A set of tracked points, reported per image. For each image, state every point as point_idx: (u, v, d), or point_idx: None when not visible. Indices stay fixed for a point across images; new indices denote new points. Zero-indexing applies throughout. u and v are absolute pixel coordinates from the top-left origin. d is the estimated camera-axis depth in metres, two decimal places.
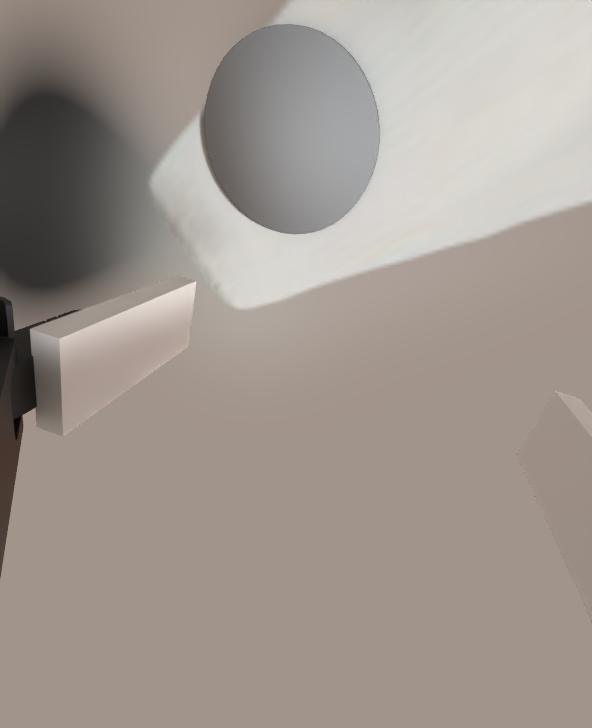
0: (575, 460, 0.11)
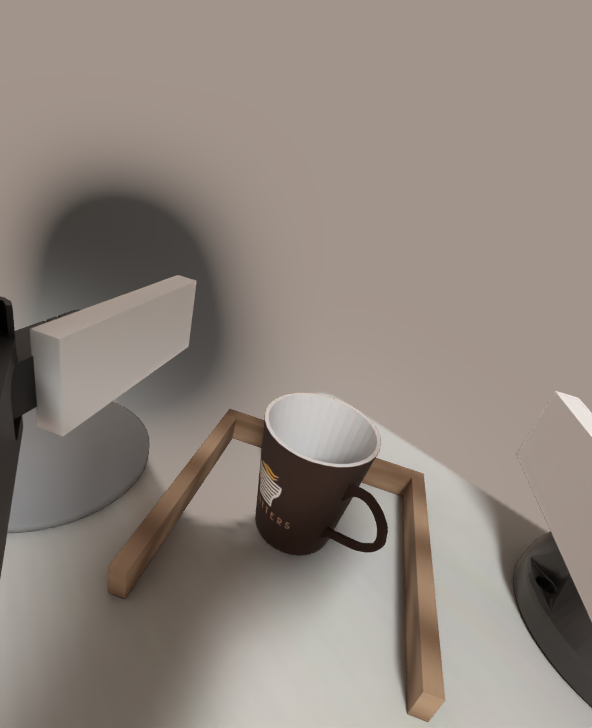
0: (575, 461, 0.11)
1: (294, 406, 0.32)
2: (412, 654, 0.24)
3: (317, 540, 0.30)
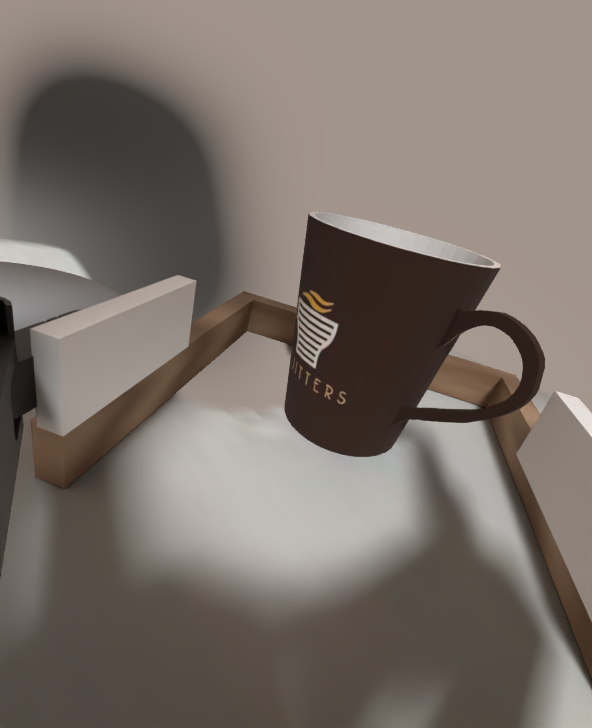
0: (575, 461, 0.11)
1: None
2: None
3: (387, 430, 0.19)
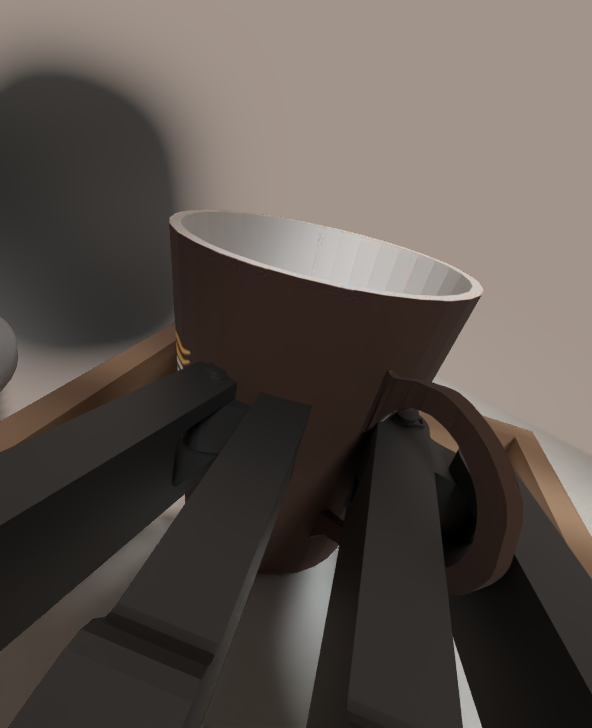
0: None
1: (279, 247, 0.15)
2: None
3: (304, 543, 0.12)
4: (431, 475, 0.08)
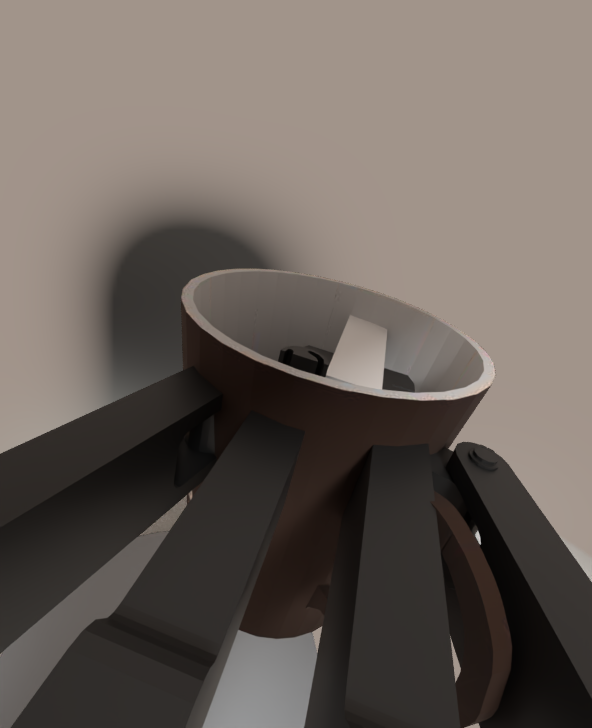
0: None
1: (296, 302, 0.15)
2: None
3: (301, 612, 0.12)
4: (428, 474, 0.08)
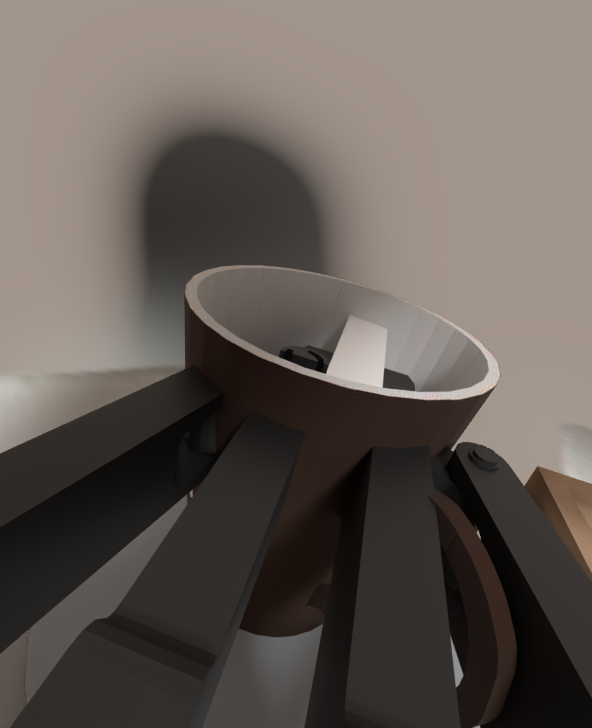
0: None
1: (299, 300, 0.15)
2: None
3: (300, 611, 0.12)
4: (428, 474, 0.08)
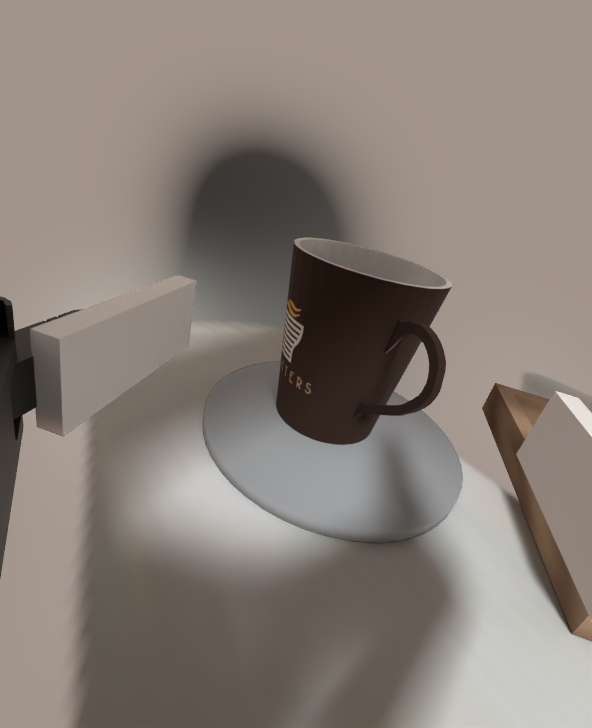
0: (575, 460, 0.11)
1: (341, 260, 0.25)
2: None
3: (349, 422, 0.22)
4: None
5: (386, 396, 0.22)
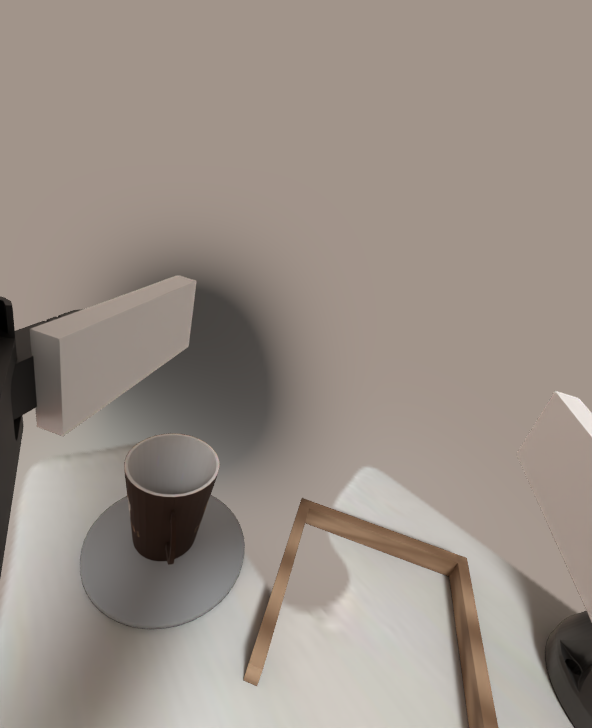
0: (575, 460, 0.11)
1: (173, 443, 0.41)
2: None
3: (164, 551, 0.38)
4: None
5: (186, 535, 0.38)
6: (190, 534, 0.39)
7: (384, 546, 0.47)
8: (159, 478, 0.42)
